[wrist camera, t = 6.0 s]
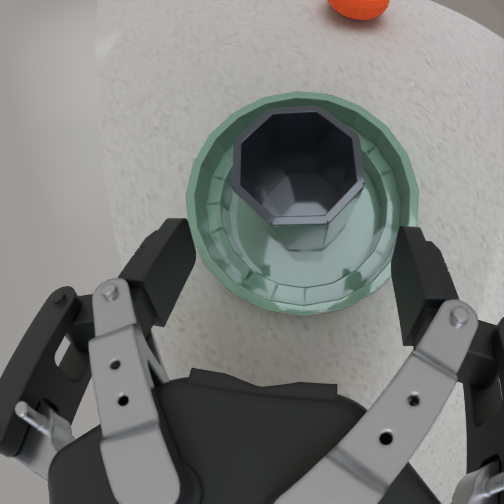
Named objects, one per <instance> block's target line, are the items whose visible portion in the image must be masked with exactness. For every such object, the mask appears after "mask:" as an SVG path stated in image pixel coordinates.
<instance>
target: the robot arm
mask: <svg viewBox="0 0 504 504" xmlns="http://www.w3.org/2000/svg"><path fill="white" fill-rule="evenodd" d="M195 260H196V250H195V246H194V242H193V238H192V234H191V230H190V226H189V222H188V220H187V219H185V218H168V219H166V220H165V222H164V223H163V224H162V226H161V227H160V228H159V230H156V231H154V232H153V233H152V234H150V235H149V236H148V237H146V238H145V240H144V241H143V243H142V244H141V245H140V248H138V249H137V251H136V252H135V255H133V256H132V258H131V259H130V261H129V262H128V263H127V265H126V266H125V268H124V269H123V271H122V272H121V273H120V275H119V276H118V278H113V279H109V280H107V281H105V282H103V283H102V284H100V285H99V286H98V287H97V288H96V290H95V291H94V293H93V294H90V295H84V296H78V295H77V294H76V292H75V290H74V289H73V288H72V287H69V286H66V287H61V288H59V289H57V290H55V291H54V292H53V293H52V294H51V295H50V296H49V297H48V299H47V300H46V302H45V303H44V305H43V306H42V308H41V310H40V311H39V312H38V314H37V315H36V317H35V319H34V320H33V322H32V323H31V325H30V327H29V328H28V330H27V331H26V333H25V335H24V336H23V338H22V340H21V342H20V343H19V345H18V347H17V348H16V350H15V352H14V354H13V355H12V357H11V359H10V361H9V363H8V365H7V366H6V369H5V370H4V372H3V374H2V376H1V378H0V453H1V454H3V455H4V456H6V457H8V458H10V459H12V460H14V461H16V462H17V463H19V464H21V465H24V466H26V467H27V468H29V469H30V470H32V471H33V472H35V473H36V474H38V475H39V476H41V477H42V478H44V479H45V480H47V481H48V489H49V501H50V504H441V503H440V501H439V500H438V499H437V498H436V496H435V495H434V494H433V493H432V491H431V490H430V489H429V487H428V486H427V485H426V484H425V482H424V481H423V480H422V478H421V477H420V476H419V475H418V473H417V472H416V471H415V469H414V468H413V467H412V466H411V464H410V463H409V462H408V461H409V460H410V458H411V457H412V456H413V454H414V453H415V451H416V450H417V448H418V447H419V446H420V444H421V443H422V441H423V440H424V438H425V437H426V435H427V434H428V432H429V430H430V429H431V427H432V426H433V424H434V422H435V421H436V419H437V417H438V416H439V414H440V412H441V411H442V409H443V407H444V405H445V404H446V402H447V400H448V398H449V396H450V394H451V392H452V391H453V389H454V387H455V385H456V383H457V382H461V383H463V390H464V400H465V412H466V430H467V472H466V475H465V476H464V477H463V478H462V479H461V480H460V482H459V483H458V485H457V487H456V489H455V492H454V494H453V497H452V503H451V504H504V317H503V318H502V319H501V320H500V322H499V323H498V325H494V324H490V323H487V322H484V321H480V320H478V317H477V315H476V313H475V311H474V310H473V309H472V307H471V306H469V305H468V304H467V303H465V302H463V301H460V300H459V298H458V295H457V292H456V289H455V287H454V284H453V281H452V279H451V276H450V273H449V271H448V268H447V266H446V263H444V259H443V256H442V254H441V251H440V250H439V249H438V248H437V247H436V246H435V245H434V244H433V243H432V241H426V240H425V238H424V236H423V233H422V231H421V229H420V227H412V226H400V227H399V230H398V234H397V238H396V243H395V247H394V251H393V255H392V260H391V277H392V282H393V287H394V292H395V297H396V303H397V308H398V314H399V320H400V327H401V334H402V341H403V346H413V348H414V349H413V351H412V352H411V354H410V355H409V357H408V358H407V359H406V361H405V362H404V364H403V365H402V367H401V368H400V369H399V371H398V372H397V374H396V375H395V376H394V378H393V379H392V380H391V382H390V383H389V384H388V386H387V387H386V388H385V390H384V391H383V392H382V394H381V395H380V396H379V397H378V399H377V400H376V401H375V402H374V404H373V405H372V406H371V407H370V408H369V410H367V409H366V408H364V407H363V406H362V405H360V404H359V403H357V402H355V401H354V400H352V399H350V398H347V397H345V396H342V395H339V394H337V384H323V383H306V382H298V383H291V384H283V385H275V386H267V387H259V386H256V385H253V384H251V383H248V382H245V381H243V380H240V379H238V378H235V377H233V376H230V375H228V374H225V373H219V372H213V371H207V370H201V369H196V368H192V369H191V372H190V375H189V377H186V378H179V379H175V380H171V381H170V379H169V377H168V375H167V373H166V371H165V368H164V365H163V362H162V359H161V356H160V353H159V350H158V347H157V343H156V340H155V337H154V334H153V332H152V330H151V328H152V326H153V325H155V326H160V327H164V326H165V324H166V322H167V320H168V318H169V316H170V314H171V312H172V310H173V307H174V305H175V303H176V301H177V299H178V297H179V295H180V293H181V291H182V289H183V287H184V285H185V283H186V281H187V279H188V277H189V275H190V273H191V271H192V269H193V267H194V264H195ZM64 336H66V338H67V339H68V340H69V341H70V345H69V347H68V349H67V351H66V353H65V355H64V357H63V359H62V361H61V362H60V364H59V366H58V367H57V365H56V363H55V353H56V351H57V349H58V347H59V345H60V344H61V342H62V340H63V338H64ZM91 376H92V379H93V386H94V392H95V397H96V404H97V409H98V414H99V419H100V424H99V425H98V426H97V427H95V428H93V429H92V430H90V431H88V432H87V433H85V434H84V435H82V436H80V437H79V438H77V439H76V440H75V438H74V436H73V435H72V430H71V424H72V422H73V419H74V416H75V414H76V412H77V409H78V407H79V404H80V402H81V399H82V397H83V395H84V393H85V390H86V388H87V385H88V383H89V381H90V379H91ZM499 379H500V382H499ZM500 385H501V388H500ZM501 391H502V395H501Z"/></svg>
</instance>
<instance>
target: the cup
mask: <svg viewBox="0 0 504 504" xmlns="http://www.w3.org/2000/svg"><path fill="white" fill-rule="evenodd" d="M364 186H365V174H364V165H363V157H362V150H361V143H360V137H359V136H358V134H357V133H355V132H354V131H353V130H352V129H350V128H349V127H348V126H346V125H345V124H344V123H342V122H341V121H340V120H338V119H337V118H336V117H334V116H333V115H332V114H330V113H329V112H327V111H326V110H325V109H323V108H322V107H318V106H301V107H283V108H271V109H270V110H269V109H268V110H267V111H266V112H265V113H264V114H263V115H261V116H260V117H259V118H258V119H257V120H256V121H255V122H254V123H253V124H252V125H251V126H249V127H248V128H247V129H246V130H245V131H244V132H243V133H242V134H241V135H240V136H239V137H238V138H237V139H236V140H235V142H234V143H233V172H232V188H233V191H234V192H235V193H236V194H237V196H238V197H239V198H240V199H241V200H242V202H243V203H244V204H245V205H246V206H247V208H248V209H249V210H250V211H251V213H252V214H253V215H254V216H255V217H256V219H257V220H258V221H259V222H260V223H261V225H262V226H263V227H264V228H265V229H266V230H267V231H268V232H269V233H270V234H271V235H272V236H273V237H274V238H275V239H276V240H278V241H279V242H280V243H281V244H282V245H283V246H284V247H285V248H286V249H288V250H294V249H297V250H312V249H322V248H325V247H326V245H327V244H328V243H329V242H330V241H331V240H333V239H334V238H335V237H336V235H337V234H338V233H339V232H340V231H341V230H342V229H343V227H344V226H345V225H346V224H347V222H348V220H349V218H350V216H351V214H352V212H353V210H354V208H355V206H356V203H357V201H358V199H359V197H360V195H361V193H362V190H363V188H364Z"/></svg>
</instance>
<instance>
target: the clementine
mask: <svg viewBox="0 0 504 504" xmlns="http://www.w3.org/2000/svg"><path fill="white" fill-rule="evenodd" d="M327 1H328V2H329V4H330V5H331V7H332V8H334V9H335V10H336V11H337V12H339V13H340V14H342V15H343V16H346V17H348V18H352V19H356V20H369V19H373V18H375V17H377V16H379V15H381V14H382V13H383V12H384V11H385V10H386V8H387V7H388V4H389V0H327Z"/></svg>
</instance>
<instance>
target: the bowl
mask: <svg viewBox="0 0 504 504" xmlns="http://www.w3.org/2000/svg"><path fill="white" fill-rule="evenodd" d="M301 106H318V107H322V108H323V109H325V110H326V111H327V112H329V113H330V114H332V115H333V116H334V117H336V118H337V119H338V120H340V121H341V122H342V123H344V124H345V125H346V126H348V127H349V128H350V129H352V130H353V131H354V132H355V133H357V134H358V136H359V137H360V143H361V150H362V157H363V165H364V174H365V186H364V188H363V190H362V193H361V195H360V197H359V199H358V201H357V203H356V206H355V208H354V210H353V212H352V214H351V216H350V218H349V220H348V222H347V224H346V225H345V226H344V227H343V229H342V230H341V231H340V232H339V233H338V234H337V235H336V237H335V238H334V239H333V240H331V241H330V242H329V243H328V244H327V245H326V247H325V248H322V249H312V250H297V249H294V250H288V249H286V248H285V247H284V246H283V245H282V244H281V243H280V242H279V241H278V240H276V239H275V238H274V237H273V236H272V235H271V234H270V233H269V232H268V231H267V230H266V229H265V228H264V227H263V226H262V225H261V223H260V222H259V221H258V220H257V219H256V217H255V216H254V215H253V214H252V213H251V211H250V210H249V209H248V208H247V206H246V205H245V204H244V203H243V202H242V200H241V199H240V198H239V197H238V196H237V194H236V193H235V192H234V191H233V188H232V172H233V143H234V142H235V140H236V139H237V138H238V137H239V136H240V135H241V134H242V133H243V132H244V131H245V130H246V129H247V128H248V127H249V126H251V125H252V124H253V123H254V122H255V121H256V120H257V119H258V118H259V117H260V116H261V115H263V114H264V113H265V112H266V111H267V110H268V109H269V110H270V109H271V108H283V107H301ZM418 198H419V190H418V185H417V182H416V178H415V175H414V172H413V169H412V166H411V163H410V159H409V157H408V155H407V153H406V152H405V150H404V149H403V147H402V146H401V144H400V143H399V142H398V140H397V139H396V137H395V136H394V135H393V133H392V132H391V131H390V129H389V128H387V126H386V125H385V124H383V123H382V122H381V121H380V120H378V119H377V118H376V117H374V116H373V115H372V114H371V113H369V112H368V111H367V110H365V109H364V108H362V107H360V106H359V105H356V104H354V103H351V102H349V101H346V100H344V99H341V98H338V97H335V96H333V95H329V94H322V93H311V92H290V93H284V94H279V95H274V96H269V97H264V98H262V99H260V100H258V101H256V102H254V103H252V104H250V105H248V106H246V107H244V108H242V109H240V110H238V111H236V112H234V113H233V114H232V115H231V116H229V117H228V118H227V119H226V120H225V121H224V122H223V123H222V124H221V125H220V126H219V127H218V128H217V129H215V130H214V131H213V132H212V133H211V134H210V136H209V137H208V139H207V141H206V142H205V144H204V146H203V147H202V149H201V151H200V152H199V154H198V156H197V158H196V159H195V161H194V164H193V166H192V170H191V175H190V179H189V183H188V188H187V192H186V205H187V216H188V222H189V226H190V230H191V234H192V238H193V241H194V243H195V245H196V248H197V250H198V252H199V254H200V257H201V259H202V261H203V263H204V264H205V265H206V267H207V268H208V269H209V270H210V271H211V272H212V273H213V274H214V275H215V276H216V277H217V279H218V280H219V281H220V282H221V283H222V284H223V285H224V286H225V287H226V288H227V289H228V290H229V291H230V292H232V293H234V294H236V295H238V296H239V297H241V298H243V299H245V300H247V301H249V302H250V303H252V304H254V305H256V306H258V307H260V308H262V309H264V310H270V311H275V312H281V313H287V314H293V315H300V316H307V315H313V314H319V313H325V312H331V311H336V310H342V309H345V308H347V307H348V306H350V305H352V304H354V303H356V302H358V301H359V300H361V299H363V298H365V297H367V296H368V295H370V294H372V293H374V292H375V291H377V290H378V289H379V288H380V287H381V286H382V285H383V284H384V283H385V282H386V281H387V280H388V278H389V277H390V276H391V260H392V255H393V251H394V247H395V243H396V238H397V234H398V230H399V227H400V226H412V227H417V225H418Z"/></svg>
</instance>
